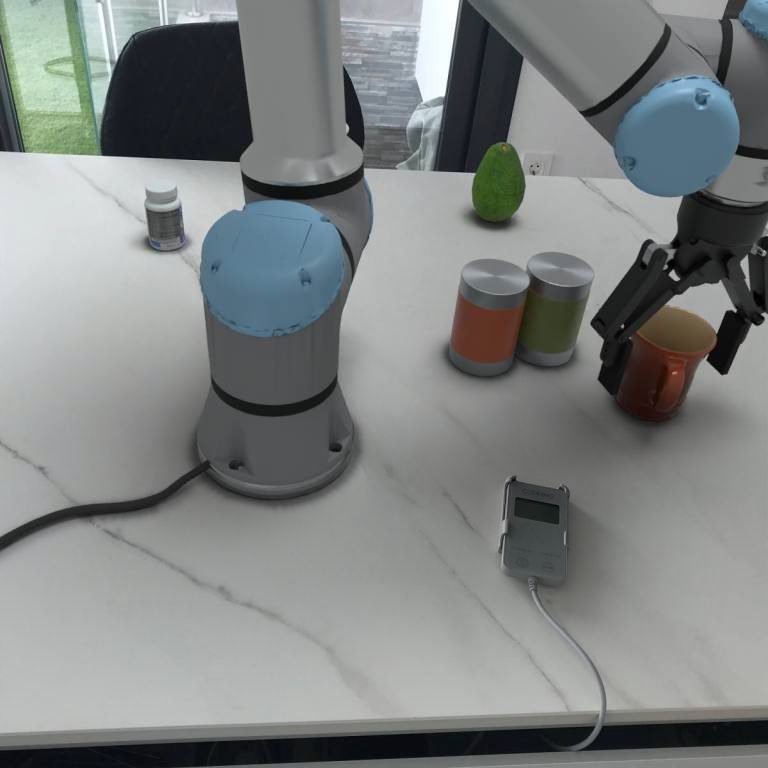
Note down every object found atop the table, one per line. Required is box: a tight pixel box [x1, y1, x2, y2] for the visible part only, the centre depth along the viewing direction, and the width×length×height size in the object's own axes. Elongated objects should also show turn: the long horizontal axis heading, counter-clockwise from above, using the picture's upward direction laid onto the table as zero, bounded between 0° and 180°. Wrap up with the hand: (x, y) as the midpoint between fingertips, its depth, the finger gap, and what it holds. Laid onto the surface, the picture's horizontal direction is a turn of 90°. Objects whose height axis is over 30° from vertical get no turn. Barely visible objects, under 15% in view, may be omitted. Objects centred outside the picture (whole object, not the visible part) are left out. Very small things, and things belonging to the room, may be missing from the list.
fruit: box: [471, 141, 527, 223], centre depth 114 cm, size 8×8×12 cm
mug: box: [615, 304, 717, 422], centre depth 82 cm, size 12×9×10 cm
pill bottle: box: [143, 178, 186, 251], centre depth 103 cm, size 5×5×8 cm
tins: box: [448, 251, 595, 377], centre depth 88 cm, size 16×8×11 cm, turn 108°
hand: (663, 377), depth 82 cm, fingers open, 13 cm apart
